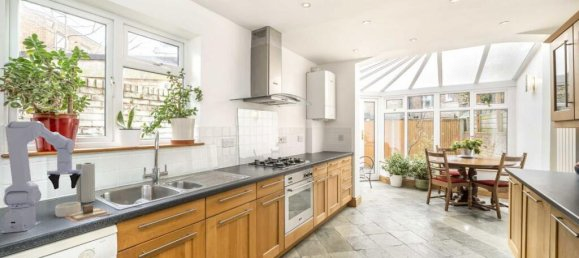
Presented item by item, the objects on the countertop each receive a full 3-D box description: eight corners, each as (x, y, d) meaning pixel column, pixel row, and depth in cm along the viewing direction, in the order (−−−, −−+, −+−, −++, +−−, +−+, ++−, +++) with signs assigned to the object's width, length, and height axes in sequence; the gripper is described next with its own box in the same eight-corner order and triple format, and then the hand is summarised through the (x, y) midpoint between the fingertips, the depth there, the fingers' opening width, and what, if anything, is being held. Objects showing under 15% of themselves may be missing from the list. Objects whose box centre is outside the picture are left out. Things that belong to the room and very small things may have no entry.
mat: (111, 213, 122) (111, 213, 122) (75, 223, 110) (75, 222, 110) (98, 208, 130) (98, 208, 130) (63, 217, 118) (63, 216, 118)
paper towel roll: (98, 200, 145) (97, 162, 145) (88, 203, 139) (88, 164, 139) (86, 199, 146) (85, 162, 145) (76, 203, 140) (75, 163, 139)
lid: (106, 213, 122) (106, 204, 122) (78, 220, 113) (77, 210, 112) (96, 209, 128) (96, 200, 128) (68, 215, 118) (68, 206, 118)
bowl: (74, 216, 119) (74, 206, 119) (51, 218, 117) (50, 208, 117) (84, 210, 128) (84, 201, 128) (62, 211, 125) (62, 202, 125)
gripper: (85, 160, 137) (85, 186, 137) (54, 161, 134) (54, 187, 134) (76, 162, 130) (77, 189, 130) (43, 163, 127) (44, 190, 127)
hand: (65, 188), depth 132 cm, fingers open, 7 cm apart
